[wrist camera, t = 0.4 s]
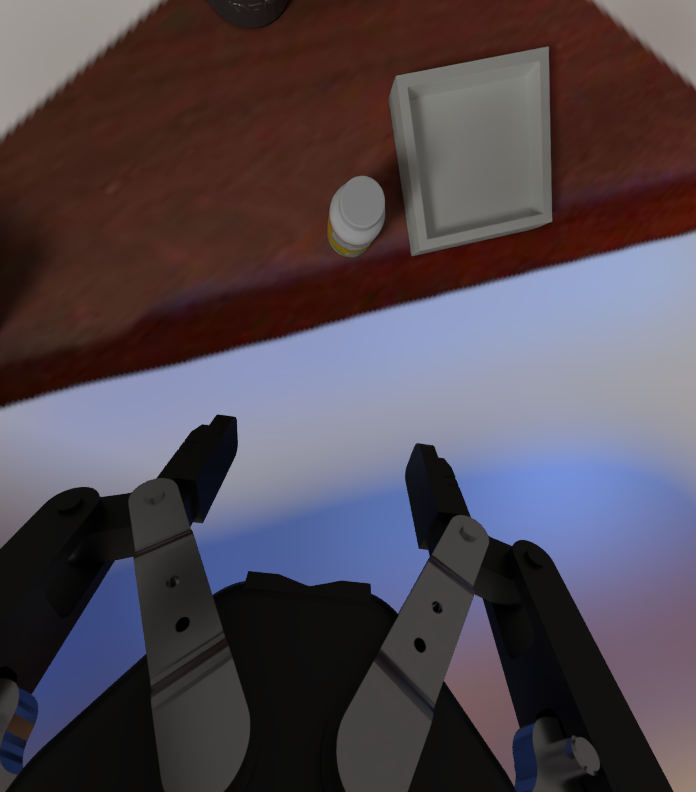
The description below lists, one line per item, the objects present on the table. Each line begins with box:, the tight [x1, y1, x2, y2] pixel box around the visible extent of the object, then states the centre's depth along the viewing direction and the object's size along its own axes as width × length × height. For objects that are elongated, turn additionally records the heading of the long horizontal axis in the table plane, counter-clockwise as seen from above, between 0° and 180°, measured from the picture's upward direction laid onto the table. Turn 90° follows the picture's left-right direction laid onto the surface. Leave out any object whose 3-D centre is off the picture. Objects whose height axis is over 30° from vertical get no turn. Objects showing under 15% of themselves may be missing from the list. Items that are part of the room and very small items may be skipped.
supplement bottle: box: [327, 176, 385, 257], centre depth 30 cm, size 5×5×10 cm
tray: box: [389, 47, 552, 256], centre depth 33 cm, size 16×16×3 cm
